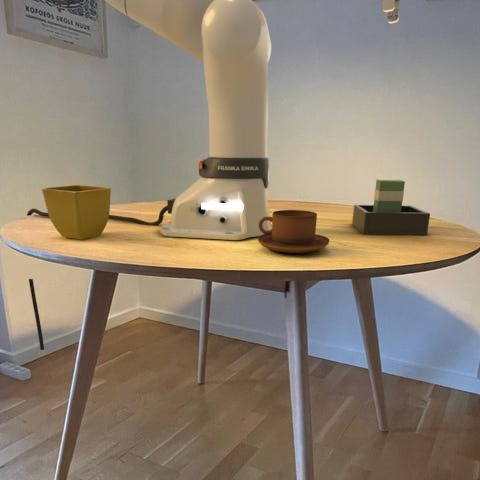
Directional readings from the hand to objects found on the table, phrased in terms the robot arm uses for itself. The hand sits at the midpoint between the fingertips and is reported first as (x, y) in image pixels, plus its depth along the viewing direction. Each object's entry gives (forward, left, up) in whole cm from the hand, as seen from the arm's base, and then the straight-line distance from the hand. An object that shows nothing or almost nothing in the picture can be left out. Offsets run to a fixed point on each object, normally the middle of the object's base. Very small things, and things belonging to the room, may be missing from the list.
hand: (390, 16), depth 80 cm
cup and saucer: (-16, -15, -38) cm, 44 cm away
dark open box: (+5, +6, -37) cm, 38 cm away
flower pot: (-55, -7, -38) cm, 67 cm away
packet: (+5, +8, -37) cm, 38 cm away
